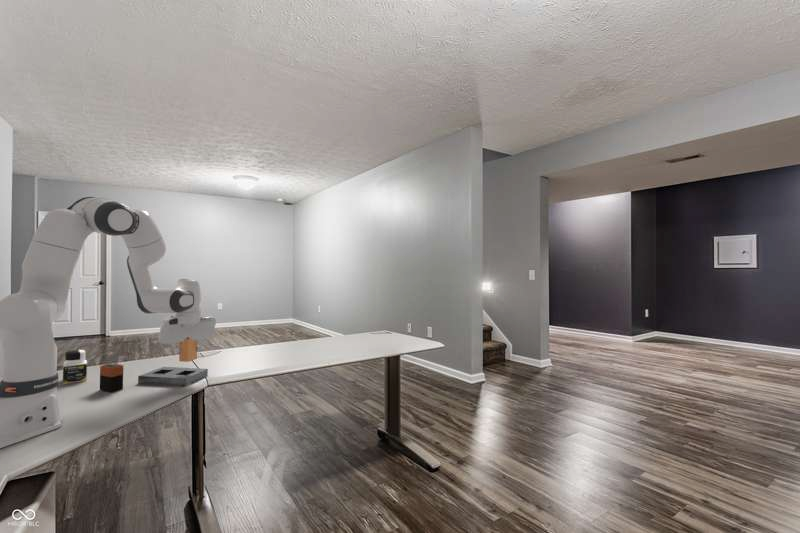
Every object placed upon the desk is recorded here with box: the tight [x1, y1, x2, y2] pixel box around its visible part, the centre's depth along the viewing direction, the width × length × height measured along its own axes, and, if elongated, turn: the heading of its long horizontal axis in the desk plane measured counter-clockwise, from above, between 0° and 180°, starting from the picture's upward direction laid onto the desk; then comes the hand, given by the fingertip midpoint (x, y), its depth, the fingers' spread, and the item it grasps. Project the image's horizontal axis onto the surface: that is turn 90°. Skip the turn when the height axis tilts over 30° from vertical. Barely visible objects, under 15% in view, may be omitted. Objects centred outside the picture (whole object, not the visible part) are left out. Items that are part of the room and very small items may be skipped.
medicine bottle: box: [62, 349, 88, 385], centre depth 149 cm, size 7×7×12 cm
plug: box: [178, 337, 198, 363], centre depth 153 cm, size 5×4×10 cm
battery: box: [99, 361, 124, 393], centre depth 139 cm, size 4×7×10 cm, turn 70°
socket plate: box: [137, 366, 209, 386], centre depth 153 cm, size 14×20×3 cm
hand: (188, 352), depth 153 cm, fingers closed on plug, 6 cm apart
